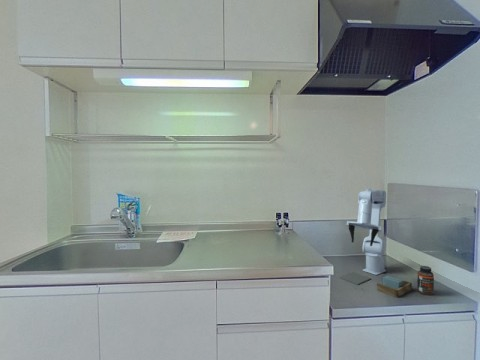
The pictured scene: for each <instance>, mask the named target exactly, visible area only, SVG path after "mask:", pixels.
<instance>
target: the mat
mask: <svg viewBox="0 0 480 360" xmlns="http://www.w3.org/2000/svg"><path fill="white" fill-rule="evenodd" d="M339 279H341V280H344V281H347V282H349V283H352V284H354V285H357V286H359V285H361V284H363V283H366V282H368V281H370V280H372V278H371V277H368V276H367V275H363V274H360V273H359V272H358V273H357V272H355V271H352V272H349V273H347V274H345V275H342V276H339Z"/></svg>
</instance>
